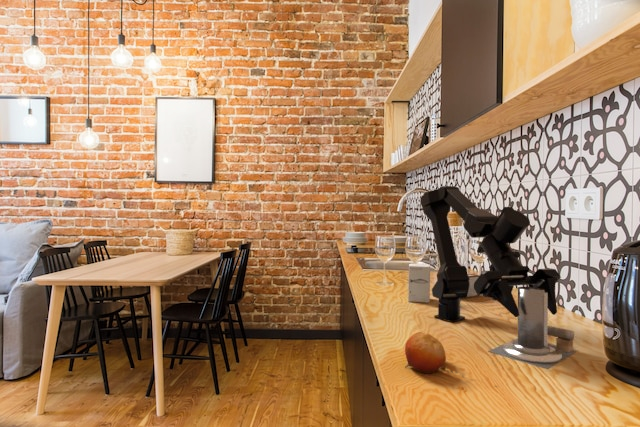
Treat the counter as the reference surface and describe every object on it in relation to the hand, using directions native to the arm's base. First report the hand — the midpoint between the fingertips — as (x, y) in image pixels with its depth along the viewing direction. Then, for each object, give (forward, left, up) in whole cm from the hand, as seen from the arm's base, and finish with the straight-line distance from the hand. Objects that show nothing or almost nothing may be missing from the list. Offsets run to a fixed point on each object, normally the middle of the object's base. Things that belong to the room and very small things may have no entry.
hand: (536, 314), depth 81 cm
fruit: (+21, -12, -10) cm, 27 cm away
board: (-3, -2, -10) cm, 10 cm away
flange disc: (-1, -1, -9) cm, 9 cm away
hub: (-1, -1, -8) cm, 8 cm away
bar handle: (-9, -2, -9) cm, 12 cm away
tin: (-45, -42, -10) cm, 62 cm away
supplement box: (-27, -50, -10) cm, 58 cm away
